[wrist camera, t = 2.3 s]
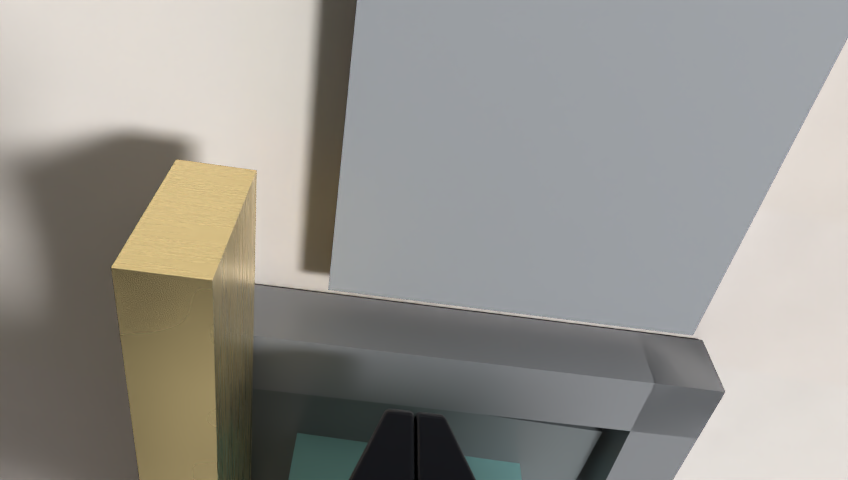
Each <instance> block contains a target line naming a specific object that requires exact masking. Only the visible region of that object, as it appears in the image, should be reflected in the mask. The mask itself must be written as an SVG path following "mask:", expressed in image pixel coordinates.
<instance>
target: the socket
mask: <svg viewBox="0 0 848 480" xmlns="http://www.w3.org/2000/svg"><path fill="white" fill-rule="evenodd" d="M253 389H261V390H270V391H279V392H288V393H297V394H305V395H314V396H323V397H332V398H341V399H350V400H359V401H368V402H376V403H385V404H394V405H403V406H412V407H421V408H430V409H439V410H447V411H456V412H465V413H474V414H483V415H492V416H501V417H510V418H518V419H527V420H536V421H545V422H554V423H563V424H572V425H581V426H589V427H598V428H602V434H601V436H600V437H599V439H598V441H597V443H596V445H595V446H594V448H593V450H592V452H591V454H590V456H589V457H588V459H587V461H586V463H585V465H584V466H583V468H582V470H581V472H580V474H579V476H578V477H577V479H576V480H673V479H674V477H675V475H676V474H677V472H678V470H679V469H680V467H681V465H682V464H683V462H684V460H685V459H686V457H687V455H688V454H689V452H690V450H691V448H692V447H693V445H694V443H695V442H696V440H697V438H698V437H699V435H700V433H701V432H702V430H703V428H704V427H705V425H706V423H707V422H708V420H709V418H710V417H711V415H712V413H713V412H714V410H715V408H716V407H717V405H718V403H719V402H720V400H721V398H722V396H723V395H724V393H725V390H724V388H723V386H722V383H721V381H720V379H719V377H718V374H717V372H716V370H715V368H714V365H713V363H712V361H711V359H710V356H709V354H708V352H707V350H706V347H705V345H704V343H703V341H702V340H696V339H688V338H680V337H672V336H664V335H656V334H648V333H640V332H632V331H624V330H616V329H608V328H600V327H592V326H584V325H576V324H567V323H559V322H551V321H543V320H535V319H527V318H519V317H511V316H503V315H495V314H487V313H479V312H471V311H463V310H455V309H447V308H439V307H431V306H423V305H415V304H407V303H399V302H391V301H383V300H375V299H367V298H359V297H351V296H343V295H335V294H327V293H319V292H311V291H303V290H295V289H287V288H279V287H271V286H263V285H255V284H254V337H253Z"/></svg>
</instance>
